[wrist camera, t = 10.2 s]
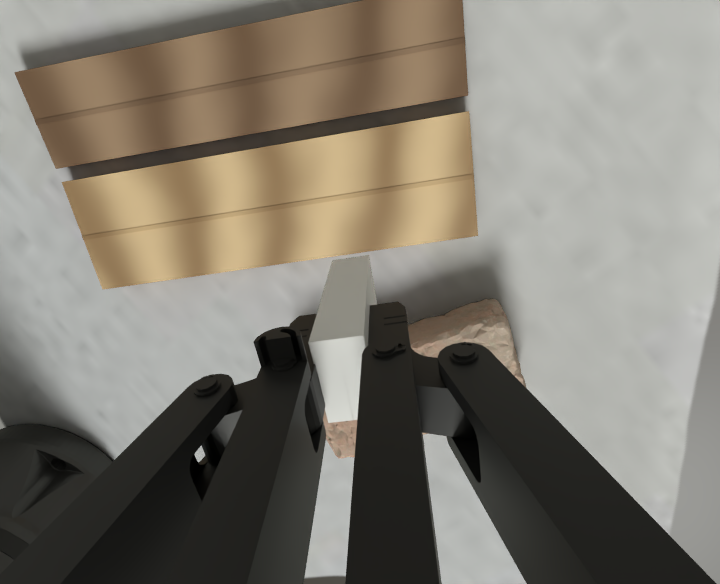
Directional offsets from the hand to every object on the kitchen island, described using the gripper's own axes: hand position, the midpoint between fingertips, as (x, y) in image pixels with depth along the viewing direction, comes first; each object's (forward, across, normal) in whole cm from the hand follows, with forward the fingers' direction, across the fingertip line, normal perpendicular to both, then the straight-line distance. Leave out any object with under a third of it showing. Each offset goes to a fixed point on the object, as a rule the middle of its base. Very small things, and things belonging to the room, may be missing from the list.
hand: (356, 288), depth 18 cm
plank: (+14, -7, +1) cm, 16 cm away
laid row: (+15, -6, +9) cm, 18 cm away
